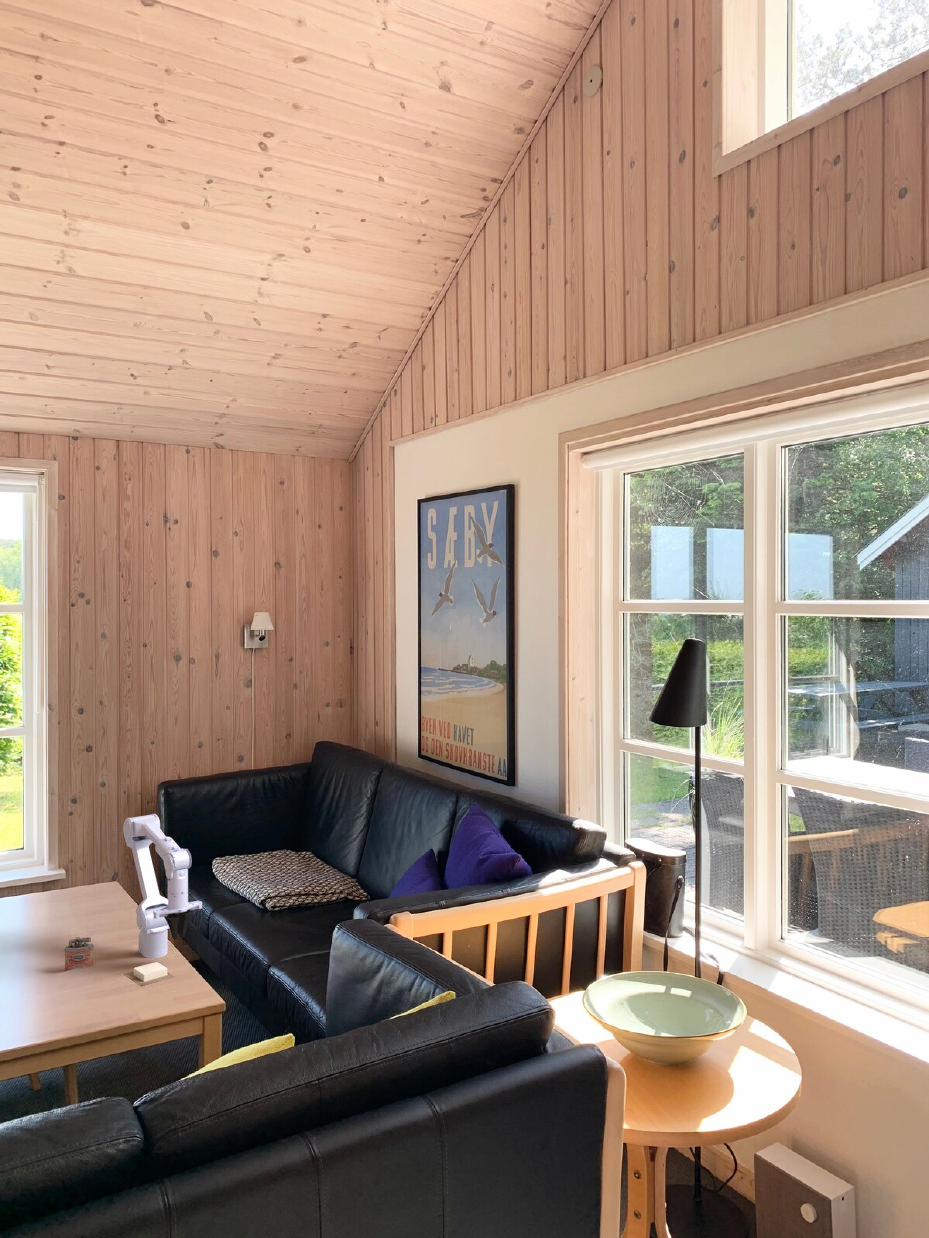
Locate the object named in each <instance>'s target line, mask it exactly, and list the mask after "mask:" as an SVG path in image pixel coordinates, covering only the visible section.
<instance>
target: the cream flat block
mask: <svg viewBox="0 0 929 1238" xmlns="http://www.w3.org/2000/svg"><path fill="white" fill-rule="evenodd" d="M133 971H134V975H135V976H136V977H138V978H139V979H141V980H142V981H144V982H145V981H149V980H152V979H156V978H159V977H163V976H166V975H167V972H168V967H166V966H164V965H163V964H161V963H160V962H158V961H155V962H151V963H147V964H143V965H139V966H136V967H134V968H133Z"/></svg>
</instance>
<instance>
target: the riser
mask: <svg viewBox="0 0 929 1238" xmlns="http://www.w3.org/2000/svg"><path fill="white" fill-rule="evenodd" d="M123 976H125V977H126V978H128V979H129V980H131V981H132V982H134V983H135V984H137V985H138V986H140V987H145V986H149V985H151V984H154V983H159V982H162V981H165V980H169V979H171V978H172V979H173V978H175V976H174V975H173V974H171V973H169V972H168V971H167V975H166V976H163V977H159V978H156V979H152V980H149V981H145V982H144V981H142V980H141V979H139V978H138V977H136V976H135V975H134V970H133V971H131V972H127V973H123Z"/></svg>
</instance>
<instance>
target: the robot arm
mask: <svg viewBox="0 0 929 1238" xmlns="http://www.w3.org/2000/svg"><path fill="white" fill-rule="evenodd" d="M122 831H123V837H124V840H125V844H126V847H129V848H130V849H131V852H132V855H133V861H134V865H135V869H136V872H137V873H136V874H137V878H138V881H139V882H138V883H139V888H140V891H141V892H140V893H141V896H142V900H141V902H140V904H139V905H138V906H137V907H136V911H135V913H136V925H137V928H138V929H139V934H138V953H140V954H141V955H142V957H144V958H146V959H156V958H157V959H159V958H162V957H164V956H166V955H168V951H169V947H168V939H169V936H168V931H169V932H170V935H171V938H172V939H173V940H178V936H179V937H180V938H185V936H186V931H187V927H188V925H189V924H190V923H189V922H190V920H191V918H192V917H193V912H192V911H194V910H197V909H198V910H201V909H203V902H202V901H200V900H195V901H189V869H190V868H191V867H192V855H191V852H190V851H189V849H188V848H181V847H180V846H179V845H178V844H177V842H175V840H174V839H173V838H172V837H170V836H166V835H165V833H164V832H163V831H162V829H161V821H160V818H159V816H158V815H157V814H156V813H152V814H147V815H141V816H140V815H139V816H135V817H127V818H125V820H124V822H123V826H122ZM152 843H153V844H154V845H155V847H154V848H155V852H156V853H157V855H159V856H160V858H161V860H163V865H164V870H165V876H166V878H167V898H166V897H164V896H162V895H161V894H160V891H159V886H158V881H157V877H156V873H155V870H154V865H153V861H152V857H151V852H150V848H149V847H150V845H151V844H152Z"/></svg>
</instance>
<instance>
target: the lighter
mask: <svg viewBox="0 0 929 1238" xmlns="http://www.w3.org/2000/svg"><path fill="white" fill-rule="evenodd" d="M91 942H92V938H91V937H90V936H86V937H85V936H84V937H80V936H77V937H75V938H72V939H71V938H69V939H68V945H66V946H64V948H63V950H64V972H68V971H72V970H75V969H83V968H90V967H92V966H94V944H93V943H91Z"/></svg>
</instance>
